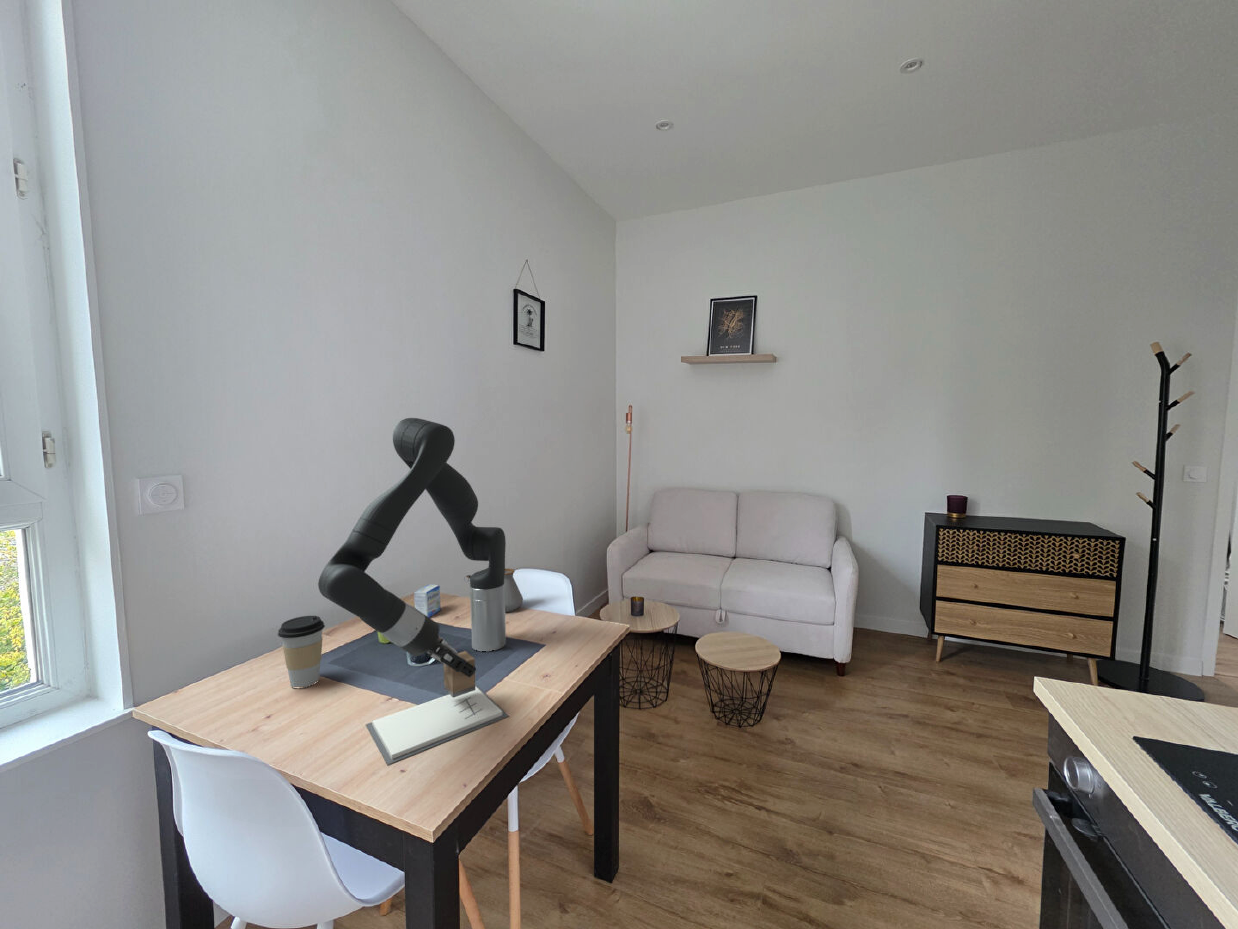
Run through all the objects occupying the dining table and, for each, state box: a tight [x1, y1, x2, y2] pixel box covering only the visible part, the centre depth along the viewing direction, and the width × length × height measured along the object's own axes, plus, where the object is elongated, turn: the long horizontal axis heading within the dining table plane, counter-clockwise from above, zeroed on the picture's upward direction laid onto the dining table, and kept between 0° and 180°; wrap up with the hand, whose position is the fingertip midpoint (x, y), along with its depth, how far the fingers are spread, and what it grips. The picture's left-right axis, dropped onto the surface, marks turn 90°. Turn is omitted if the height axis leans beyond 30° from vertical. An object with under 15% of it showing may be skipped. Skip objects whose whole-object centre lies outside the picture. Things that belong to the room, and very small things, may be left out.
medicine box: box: [413, 584, 441, 618], centre depth 164 cm, size 8×4×9 cm, turn 168°
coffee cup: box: [277, 615, 325, 688], centre depth 120 cm, size 9×9×15 cm
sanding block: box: [443, 650, 476, 698], centre depth 110 cm, size 5×5×7 cm
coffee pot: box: [463, 568, 524, 613], centre depth 165 cm, size 21×12×15 cm, turn 143°
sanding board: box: [365, 685, 510, 766], centre depth 104 cm, size 16×24×1 cm, turn 129°
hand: (467, 668), depth 111 cm, fingers closed on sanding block, 5 cm apart
